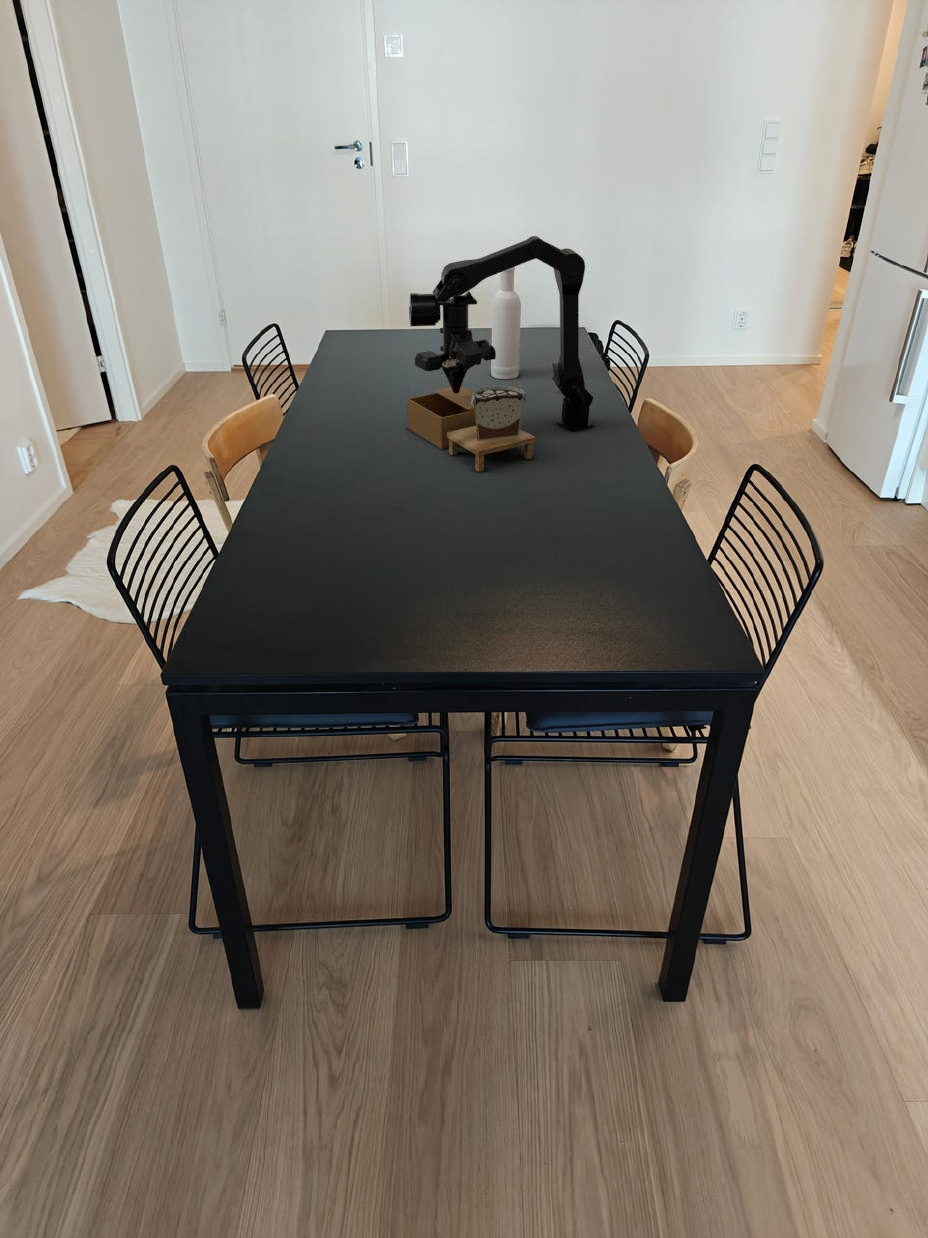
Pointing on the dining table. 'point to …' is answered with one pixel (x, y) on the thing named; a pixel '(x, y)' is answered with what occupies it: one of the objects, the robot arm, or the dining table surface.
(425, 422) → the cardboard box
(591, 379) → the dining table surface
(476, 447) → the stool
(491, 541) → the dining table surface
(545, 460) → the dining table surface
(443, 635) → the dining table surface
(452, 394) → the flap
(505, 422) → the food container
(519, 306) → the bottle
